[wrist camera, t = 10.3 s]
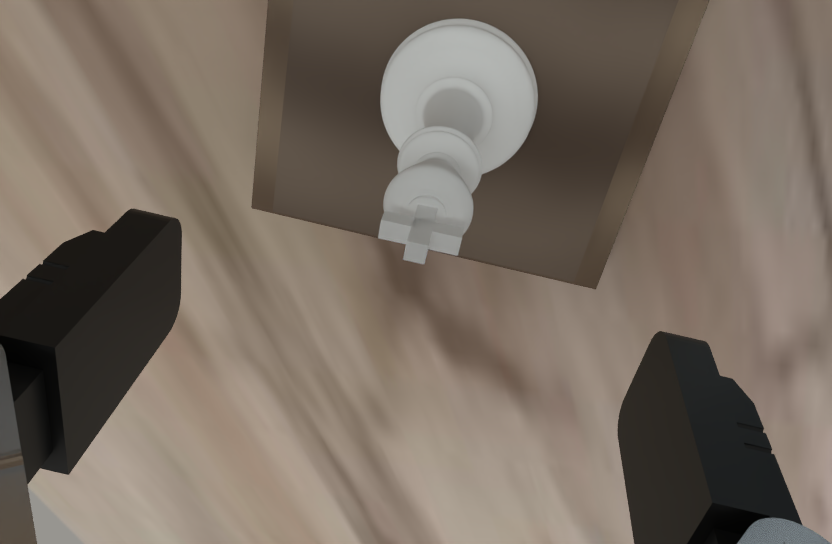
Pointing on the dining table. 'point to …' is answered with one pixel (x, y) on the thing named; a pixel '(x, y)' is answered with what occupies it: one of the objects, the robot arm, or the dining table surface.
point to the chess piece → (450, 127)
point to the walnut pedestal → (520, 175)
